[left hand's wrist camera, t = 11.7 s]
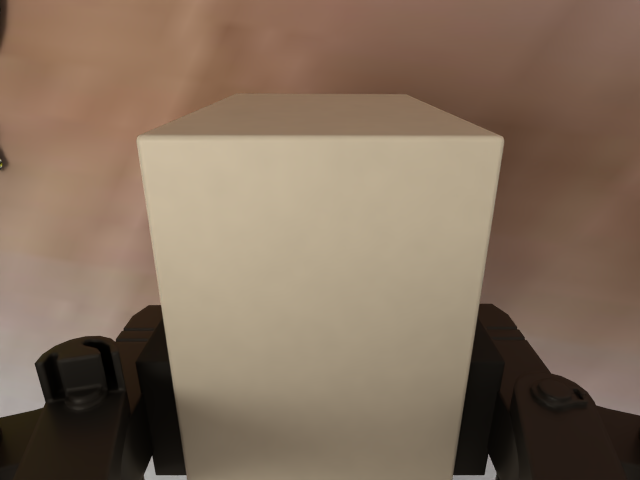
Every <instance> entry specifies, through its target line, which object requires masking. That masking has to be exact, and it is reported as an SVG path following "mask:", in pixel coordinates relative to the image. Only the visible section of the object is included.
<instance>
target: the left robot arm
mask: <svg viewBox="0 0 640 480" xmlns="http://www.w3.org/2000/svg"><path fill="white" fill-rule="evenodd" d="M35 367H36V370H37V374H38V377H39V381H40V384H41V388H42V391H43V395H44V398H45V402H46V403H45V405H44V408H41V409H37V410H34V411H29V412H24V413H20V414H15V415H11V416H6V417H1V418H0V480H144V473H145V471H146V468H147V466H148V464H149V461H150V459H151V457H152V456H153V462H154V467H155V472H156V475H186V468H185V461H184V455H183V448H182V441H181V435H180V428H179V421H178V414H177V408H176V401H175V394H174V388H173V381H172V374H171V368H170V361H169V354H168V348H167V341H166V334H165V328H164V321H163V314H162V308H161V305H149V306H147V307H146V308H144V309H143V310H141V311H140V312H138V313H137V314H135V315H134V316H133V317H132V318H131V319H130V321H129V322H128V323H127V325H126V326H125V327H124V331H122V332H121V333H120V334H119V336H118V337H117V338H116V342H115V341H113V340H112V339H111V338H107V337H102V336H85V337H81V338H76V339H72V340H69V341H66V342H64V343H61V344H59V345H56V346H54V347H53V348H51V349H50V350H48V351H47V352H45V353H44V354H42V356H41V357H40V358H39V359H38V360H37V361H36V363H35ZM488 453H489V456H490V458H491V460H492V463H493V465H494V467H495V470H496V472H497V475H496V480H640V416H639V415H634V414H630V413H625V412H620V411H616V410H611V409H607V408H603V407H600V406H596V404H595V402H594V401H593V399H592V398H591V396H590V395H589V394H588V392H587V391H585V390H584V389H583V388H581V387H580V386H579V385H578V384H576V383H575V382H572V381H570V380H568V379H566V378H564V377H562V376H558V375H555V374H551V373H550V371H549V370H548V369H547V367H546V366H545V364H544V363H543V362H542V360H541V359H540V358H539V356H538V355H537V354H536V352H535V351H534V349H533V348H532V347H531V345H530V344H529V343H528V341H527V340H525V337H524V336H523V334H522V333H521V332H520V330H517V326H516V325H515V324H514V322H513V321H512V320H511V318H510V317H509V315H508V314H506V313H505V312H503V311H502V310H500V309H499V308H497V307H496V306H494V305H493V304H479V310H478V316H477V323H476V329H475V336H474V342H473V349H472V355H471V362H470V368H469V375H468V381H467V388H466V394H465V400H464V407H463V413H462V420H461V426H460V433H459V439H458V446H457V452H456V459H455V465H454V472H453V475H484V474H485V469H486V464H487V458H488Z"/></svg>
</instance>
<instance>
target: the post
mask: <svg viewBox="0 0 640 480" xmlns="http://www.w3.org/2000/svg"><path fill="white" fill-rule="evenodd" d="M503 147H504V138H503V137H502V136H500V135H498V134H496V133H493V132H491V131H489V130H486V129H484V128H482V127H480V126H477V125H475V124H473V123H470V122H468V121H466V120H464V119H461V118H459V117H457V116H454V115H452V114H450V113H448V112H445V111H443V110H441V109H438V108H436V107H434V106H432V105H429V104H427V103H425V102H422V101H420V100H418V99H416V98H413V97H411V96H409V95H406V94H235V95H232V96H230V97H228V98H225V99H223V100H221V101H218V102H216V103H214V104H211V105H209V106H207V107H204V108H202V109H200V110H197V111H195V112H193V113H190V114H188V115H186V116H183V117H181V118H179V119H176V120H174V121H172V122H169V123H167V124H164V125H162V126H160V127H157V128H155V129H153V130H150V131H148V132H146V133H143V134H141V135H139V136H138V137H137V148H138V154H139V161H140V168H141V174H142V181H143V188H144V194H145V201H146V208H147V214H148V221H149V228H150V234H151V241H152V248H153V254H154V261H155V268H156V274H157V281H158V288H159V294H160V301H161V308H162V314H163V321H164V328H165V334H166V341H167V348H168V354H169V361H170V368H171V374H172V381H173V388H174V394H175V401H176V408H177V414H178V421H179V428H180V435H181V441H182V448H183V455H184V461H185V468H186V475H187V480H452V478H453V472H454V465H455V459H456V452H457V446H458V439H459V433H460V426H461V420H462V413H463V407H464V400H465V394H466V388H467V381H468V375H469V368H470V362H471V355H472V349H473V342H474V336H475V329H476V323H477V316H478V310H479V303H480V297H481V290H482V284H483V277H484V271H485V264H486V258H487V251H488V245H489V238H490V232H491V225H492V219H493V212H494V206H495V199H496V193H497V186H498V180H499V173H500V167H501V160H502V154H503Z"/></svg>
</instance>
